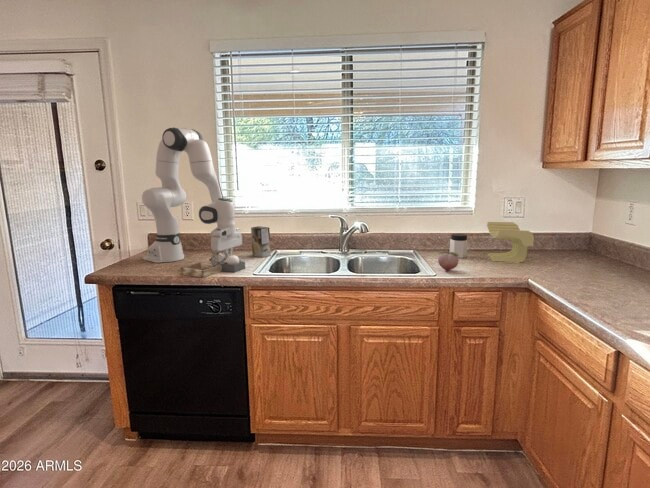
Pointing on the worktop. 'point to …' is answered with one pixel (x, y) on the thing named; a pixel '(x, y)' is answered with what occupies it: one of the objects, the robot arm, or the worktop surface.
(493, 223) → the olive c-shaped block
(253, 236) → the coffee box
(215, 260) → the grey spiky ball
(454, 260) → the decorative fruit
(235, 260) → the cream ball
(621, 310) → the worktop surface
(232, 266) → the base
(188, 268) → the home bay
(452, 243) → the jar
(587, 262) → the worktop surface
